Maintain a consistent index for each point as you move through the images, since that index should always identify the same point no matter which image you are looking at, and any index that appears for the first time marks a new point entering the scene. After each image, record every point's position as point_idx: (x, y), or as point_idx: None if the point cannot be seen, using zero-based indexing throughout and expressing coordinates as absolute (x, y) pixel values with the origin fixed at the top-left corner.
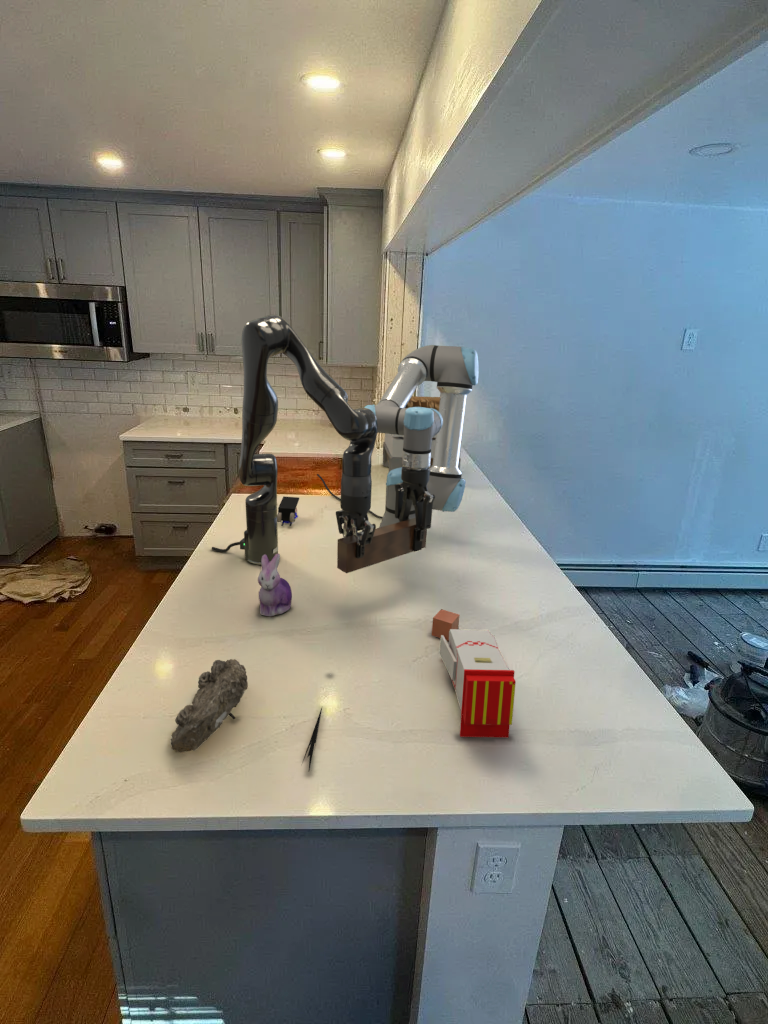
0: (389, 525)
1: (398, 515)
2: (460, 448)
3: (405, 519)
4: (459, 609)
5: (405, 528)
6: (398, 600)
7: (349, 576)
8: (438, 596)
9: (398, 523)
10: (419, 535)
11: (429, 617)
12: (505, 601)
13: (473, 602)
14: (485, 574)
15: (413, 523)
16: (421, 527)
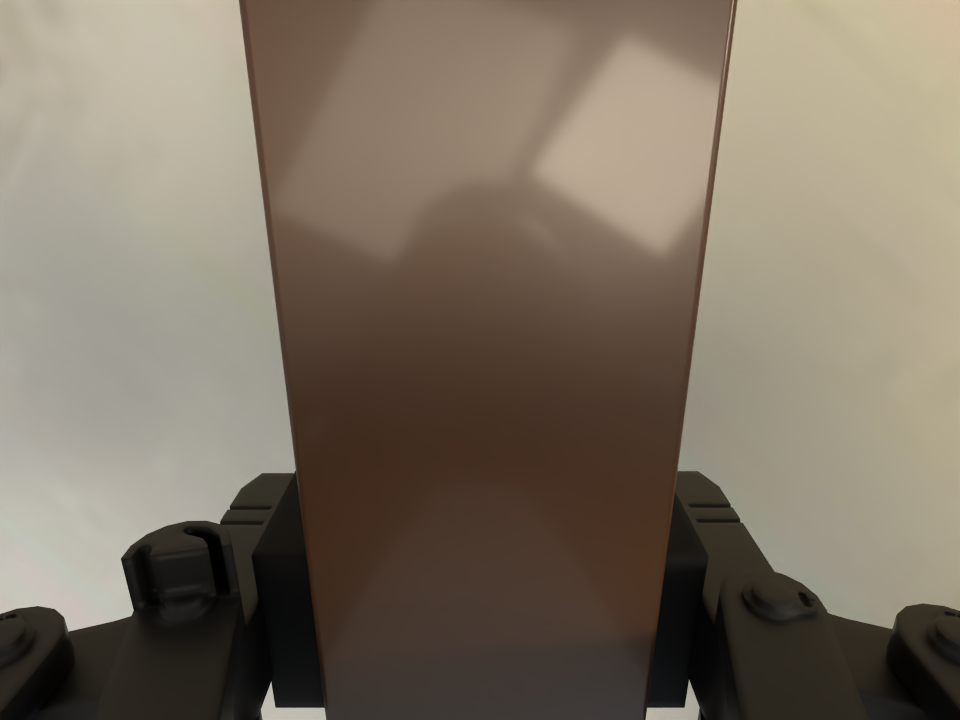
0: (679, 82)
1: (924, 694)
2: None
3: (714, 698)
4: (60, 335)
5: (290, 364)
6: None
7: (891, 22)
8: (259, 350)
9: (618, 414)
10: (241, 529)
11: (48, 95)
12: (34, 592)
13: (98, 459)
14: None
15: (394, 671)
16: (54, 644)
